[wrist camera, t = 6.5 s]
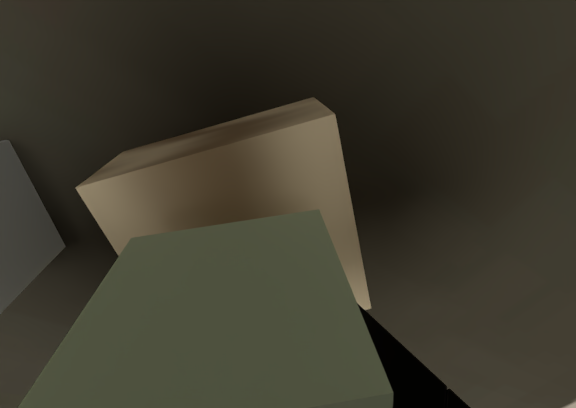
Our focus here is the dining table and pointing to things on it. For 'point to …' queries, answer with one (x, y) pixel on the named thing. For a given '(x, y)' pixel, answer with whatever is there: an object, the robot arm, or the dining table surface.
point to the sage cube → (220, 326)
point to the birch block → (233, 181)
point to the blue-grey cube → (22, 229)
